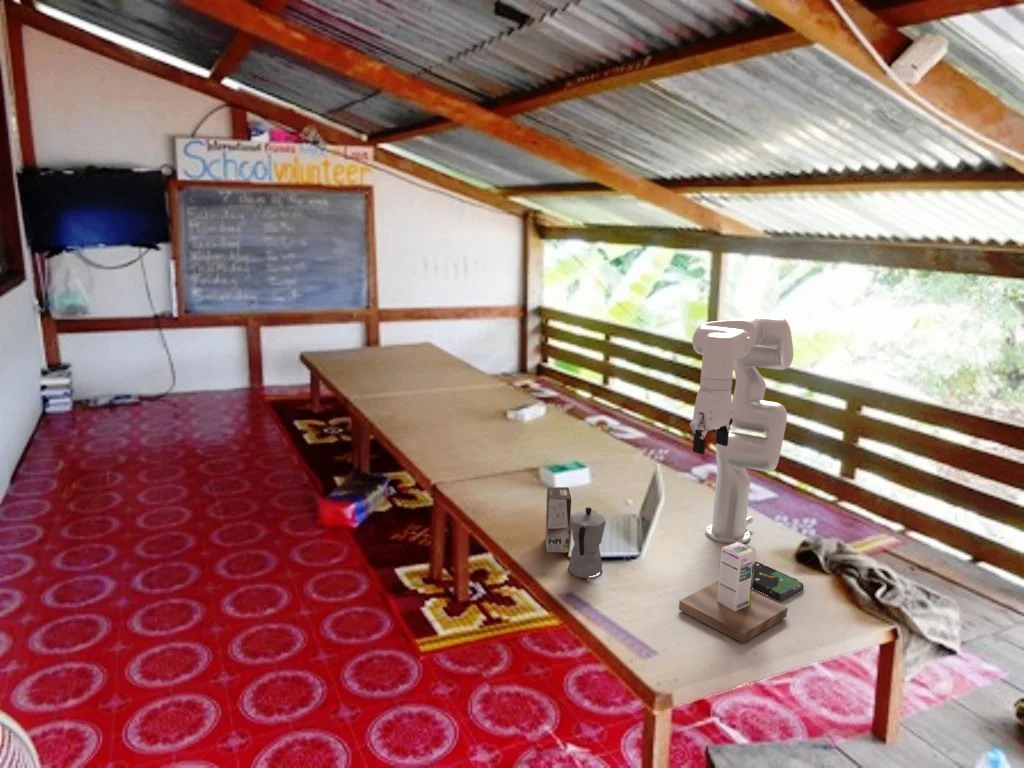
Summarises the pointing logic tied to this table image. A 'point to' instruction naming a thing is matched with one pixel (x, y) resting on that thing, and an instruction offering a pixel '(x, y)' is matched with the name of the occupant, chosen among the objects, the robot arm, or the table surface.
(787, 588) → the disk drive
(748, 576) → the syrup box
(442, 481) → the table surface
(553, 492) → the coffee box
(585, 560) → the coffeepot
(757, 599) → the walnut stand
